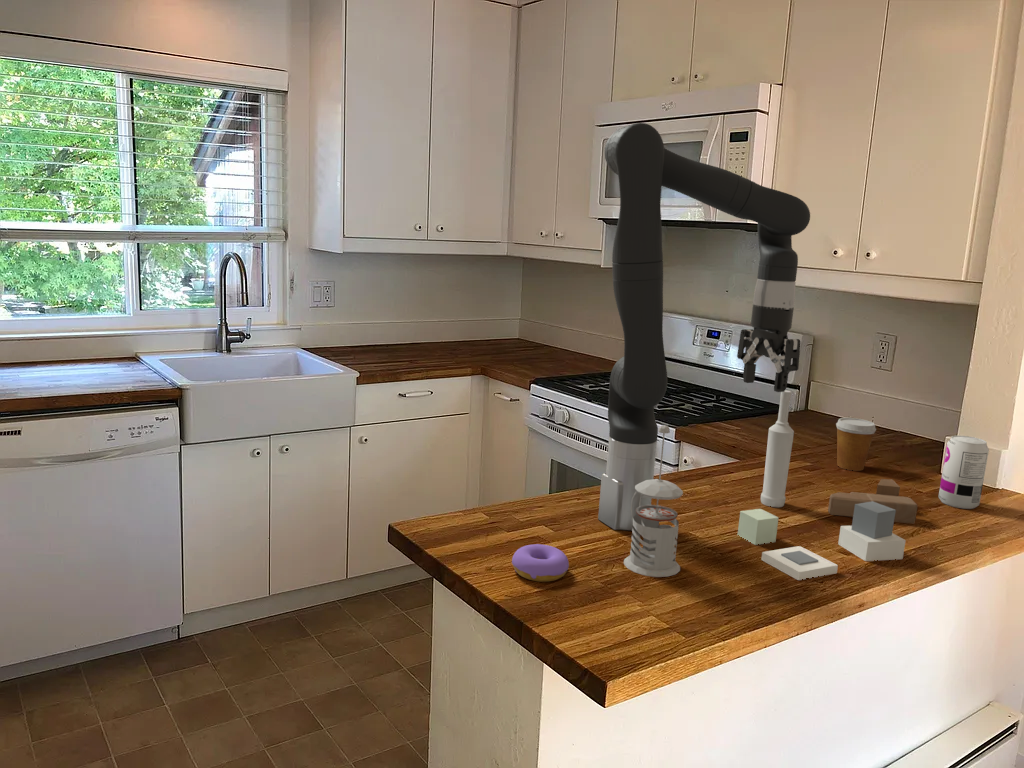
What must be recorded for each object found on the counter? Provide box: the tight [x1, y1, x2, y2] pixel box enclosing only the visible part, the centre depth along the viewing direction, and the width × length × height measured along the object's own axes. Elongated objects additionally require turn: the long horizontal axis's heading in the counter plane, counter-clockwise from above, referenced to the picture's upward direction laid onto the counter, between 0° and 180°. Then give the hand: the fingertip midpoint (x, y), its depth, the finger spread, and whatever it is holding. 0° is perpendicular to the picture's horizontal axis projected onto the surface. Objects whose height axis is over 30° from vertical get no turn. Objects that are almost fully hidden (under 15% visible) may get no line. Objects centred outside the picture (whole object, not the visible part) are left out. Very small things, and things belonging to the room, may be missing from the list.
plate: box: [761, 545, 839, 581], centre depth 147 cm, size 9×9×2 cm
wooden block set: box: [827, 478, 918, 525], centre depth 181 cm, size 17×6×18 cm
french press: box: [623, 424, 684, 578], centre depth 142 cm, size 10×12×25 cm
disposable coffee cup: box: [835, 417, 877, 472], centre depth 211 cm, size 10×10×12 cm
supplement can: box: [937, 435, 990, 510], centre depth 186 cm, size 8×8×15 cm
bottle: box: [760, 389, 795, 508], centre depth 178 cm, size 5×5×25 cm
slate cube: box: [851, 501, 896, 539], centre depth 155 cm, size 5×5×5 cm
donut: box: [511, 543, 570, 583], centre depth 138 cm, size 10×9×5 cm
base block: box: [837, 525, 907, 562], centre depth 155 cm, size 8×8×4 cm
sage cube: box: [737, 508, 779, 546], centre depth 159 cm, size 5×5×5 cm
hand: (763, 387), depth 161 cm, fingers open, 8 cm apart
